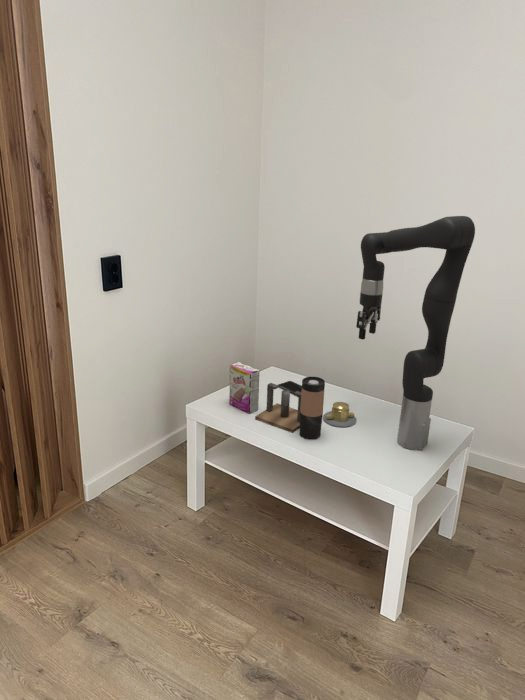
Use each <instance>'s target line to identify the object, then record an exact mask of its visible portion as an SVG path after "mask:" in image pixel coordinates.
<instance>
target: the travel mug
mask: <svg viewBox="0 0 525 700" xmlns="http://www.w3.org/2000/svg"><path fill="white" fill-rule="evenodd" d="M301 381H302V382H301V386H302V393H301V406H300V428H299V436H300V438H303V439H304V440H317V439H319V438H320V437H321V433H322V424H323V415H324V401H325V387H326V386H325V385H326V381H325V379H323V378H321V377H319V376H306V377H304V378H302V380H301Z"/></svg>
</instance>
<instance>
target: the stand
mask: <svg viewBox="0 0 525 700" xmlns="http://www.w3.org/2000/svg"><path fill="white" fill-rule="evenodd" d="M266 389H267V391H266V409H265V410H263V411H262V412H260V413H258V414H256V415H255V417H254V419H255V420H256V421H259V422H261V423H263V424H264V423H265V424H267V425H270V426H271V427H275V428H279V429H281V430H284V431H286V432H289V433H295V432H296V431H298V430H300V406H301V393H302V392H299V391H296V392H295V393H294V395H293V396H294V397H297V398H298V401H297V409H295V408H293V407H290V403H291V401H290V400H291V393H290V391H287V390H281V395H280V396H281V397H280V399H281V400H280V403H274V390H276V389H279V388H278V384H276V383H273V382H269V383H267V386H266Z"/></svg>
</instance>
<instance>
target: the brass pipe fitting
mask: <svg viewBox="0 0 525 700" xmlns="http://www.w3.org/2000/svg"><path fill="white" fill-rule="evenodd" d="M331 411H332V414H331V415H326V419H333V420H334V421H337V422H346V421H347V420H348V419H349V417H354V416H355V412H350V405H349V403H347V402H344V401H335V402H333V404H332V406H331Z"/></svg>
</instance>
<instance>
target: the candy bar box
mask: <svg viewBox="0 0 525 700" xmlns="http://www.w3.org/2000/svg"><path fill="white" fill-rule="evenodd" d="M259 394H260V369H257V368H255V367H253V366H249V365H248V364H245V363H244V362H240V361H236V362H235V363H231V364H230V365H229V403H228V404H229V405H231V406H233V407H234V408H236V409H238V410H241V411H243V412H245V413H247V414H249V415H251V414H254V413H255V412H257V411H259V403H260V402H259V401H260V400H259V399H260V398H259V396H260V395H259Z"/></svg>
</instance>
